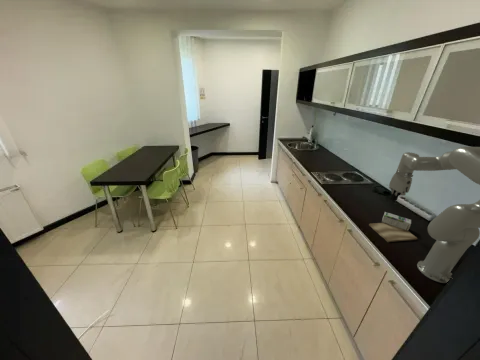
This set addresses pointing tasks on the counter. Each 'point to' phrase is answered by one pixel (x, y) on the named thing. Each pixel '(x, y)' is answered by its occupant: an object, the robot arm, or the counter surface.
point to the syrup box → (396, 221)
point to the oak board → (392, 232)
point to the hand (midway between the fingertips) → (393, 199)
